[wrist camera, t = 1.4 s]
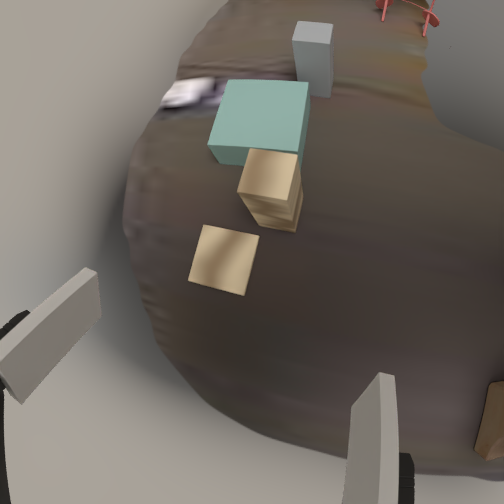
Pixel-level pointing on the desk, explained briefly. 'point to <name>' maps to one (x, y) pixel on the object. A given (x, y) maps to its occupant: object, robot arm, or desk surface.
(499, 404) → the decorative block
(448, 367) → the desk surface
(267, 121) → the teal base block
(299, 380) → the desk surface
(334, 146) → the desk surface
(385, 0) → the figurine
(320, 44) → the slate-grey pillar
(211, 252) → the maple swatch tile
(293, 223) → the maple pillar
